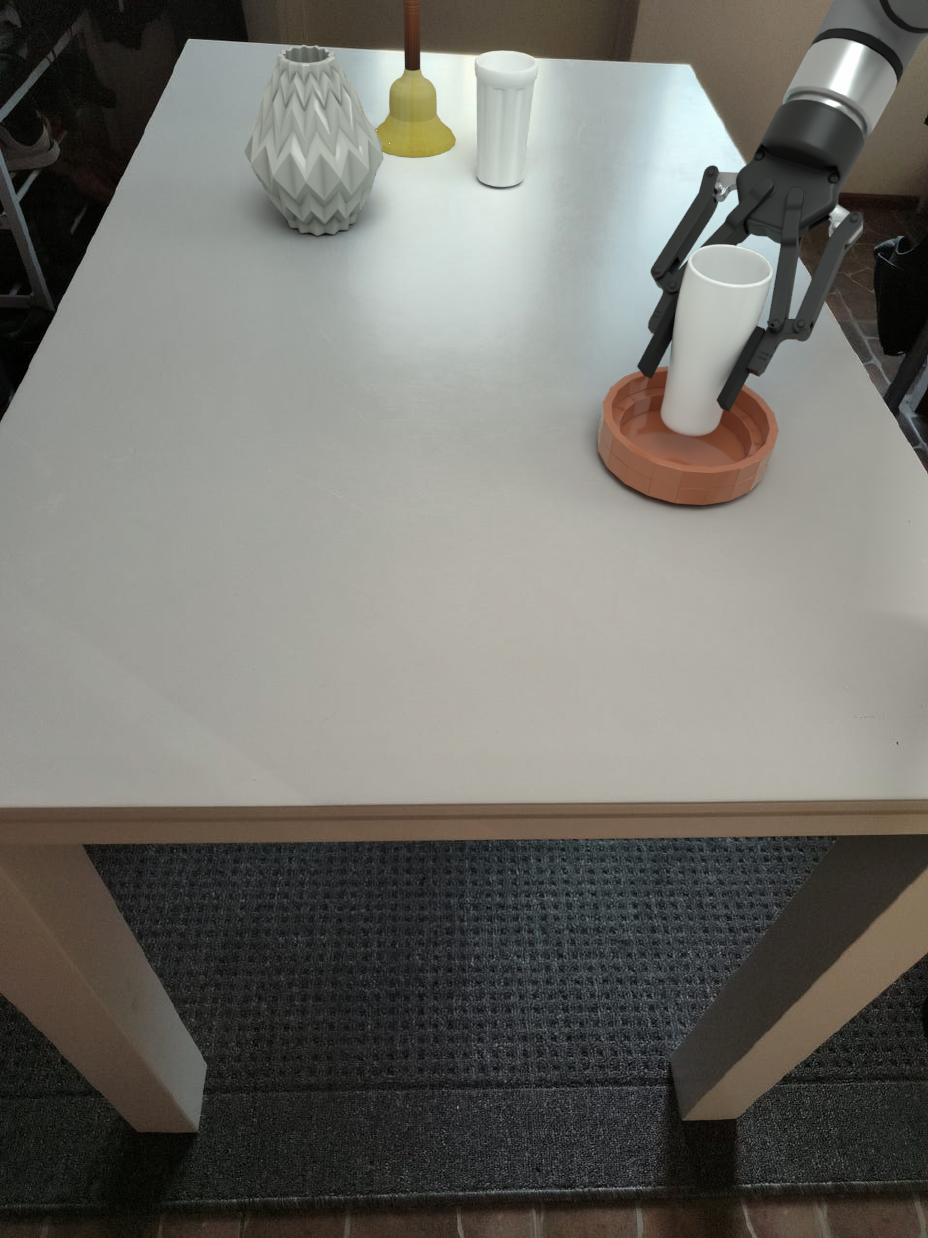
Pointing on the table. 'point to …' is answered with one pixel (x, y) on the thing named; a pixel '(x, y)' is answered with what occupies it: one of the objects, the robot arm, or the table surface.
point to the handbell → (413, 102)
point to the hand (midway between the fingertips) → (683, 388)
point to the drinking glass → (711, 332)
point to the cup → (503, 114)
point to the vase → (313, 142)
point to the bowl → (683, 444)
